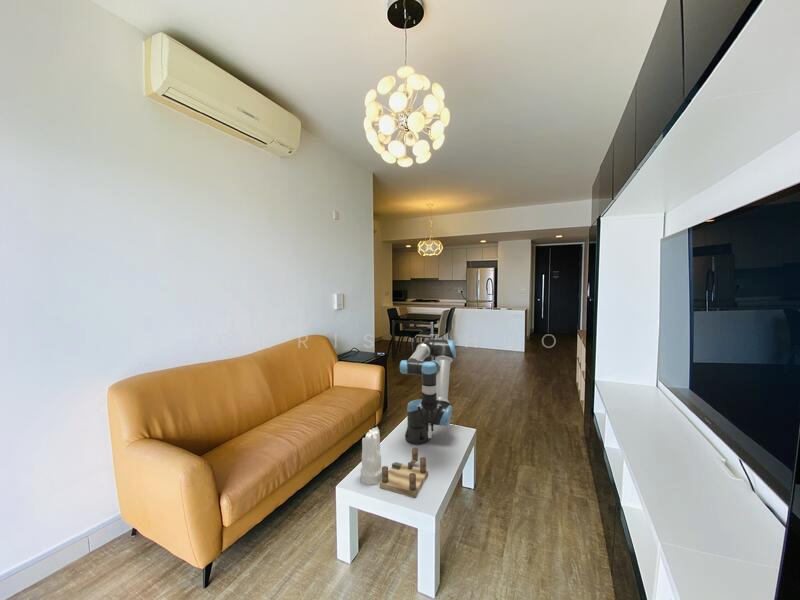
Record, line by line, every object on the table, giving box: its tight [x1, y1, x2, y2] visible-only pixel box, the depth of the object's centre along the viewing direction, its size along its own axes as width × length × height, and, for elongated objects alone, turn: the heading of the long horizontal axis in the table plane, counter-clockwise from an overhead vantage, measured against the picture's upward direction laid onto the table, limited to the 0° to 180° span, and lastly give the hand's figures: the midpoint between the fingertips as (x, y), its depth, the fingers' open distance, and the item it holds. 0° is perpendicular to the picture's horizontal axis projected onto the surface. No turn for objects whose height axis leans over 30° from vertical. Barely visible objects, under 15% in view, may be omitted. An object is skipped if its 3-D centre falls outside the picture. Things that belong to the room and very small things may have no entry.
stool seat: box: [379, 456, 429, 498], centre depth 153 cm, size 18×18×9 cm
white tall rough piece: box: [360, 426, 383, 486], centre depth 155 cm, size 11×11×25 cm
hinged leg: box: [407, 447, 419, 469], centre depth 162 cm, size 10×3×6 cm, turn 156°
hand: (429, 436), depth 165 cm, fingers closed
